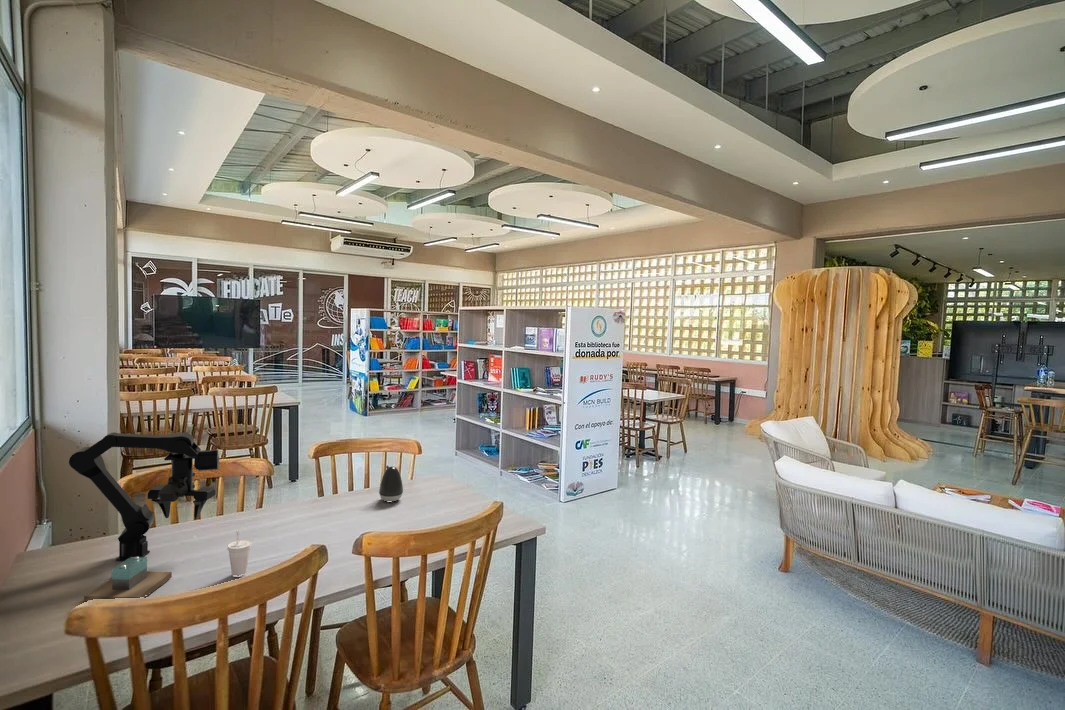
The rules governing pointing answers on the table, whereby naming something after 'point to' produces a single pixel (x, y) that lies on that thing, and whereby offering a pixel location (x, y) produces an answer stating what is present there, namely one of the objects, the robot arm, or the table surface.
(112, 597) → the stand
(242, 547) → the smoothie
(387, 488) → the black egg-shaped speaker
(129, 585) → the housing
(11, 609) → the table surface
